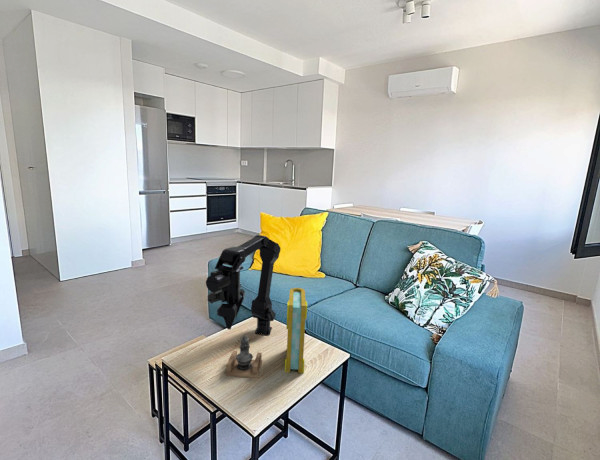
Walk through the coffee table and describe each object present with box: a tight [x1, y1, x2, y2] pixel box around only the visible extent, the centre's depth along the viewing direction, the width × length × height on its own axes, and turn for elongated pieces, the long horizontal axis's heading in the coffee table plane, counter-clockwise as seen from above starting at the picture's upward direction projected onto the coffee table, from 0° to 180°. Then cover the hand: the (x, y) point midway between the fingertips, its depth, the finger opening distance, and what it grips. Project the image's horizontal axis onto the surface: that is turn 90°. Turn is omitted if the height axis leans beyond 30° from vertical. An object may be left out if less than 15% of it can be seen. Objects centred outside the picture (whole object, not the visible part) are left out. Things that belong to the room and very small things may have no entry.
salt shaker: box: [236, 334, 254, 371], centre depth 114 cm, size 6×6×12 cm
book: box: [284, 287, 308, 374], centre depth 121 cm, size 17×7×25 cm, turn 0°
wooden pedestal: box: [224, 350, 263, 379], centre depth 115 cm, size 9×11×4 cm
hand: (232, 323), depth 122 cm, fingers open, 9 cm apart
